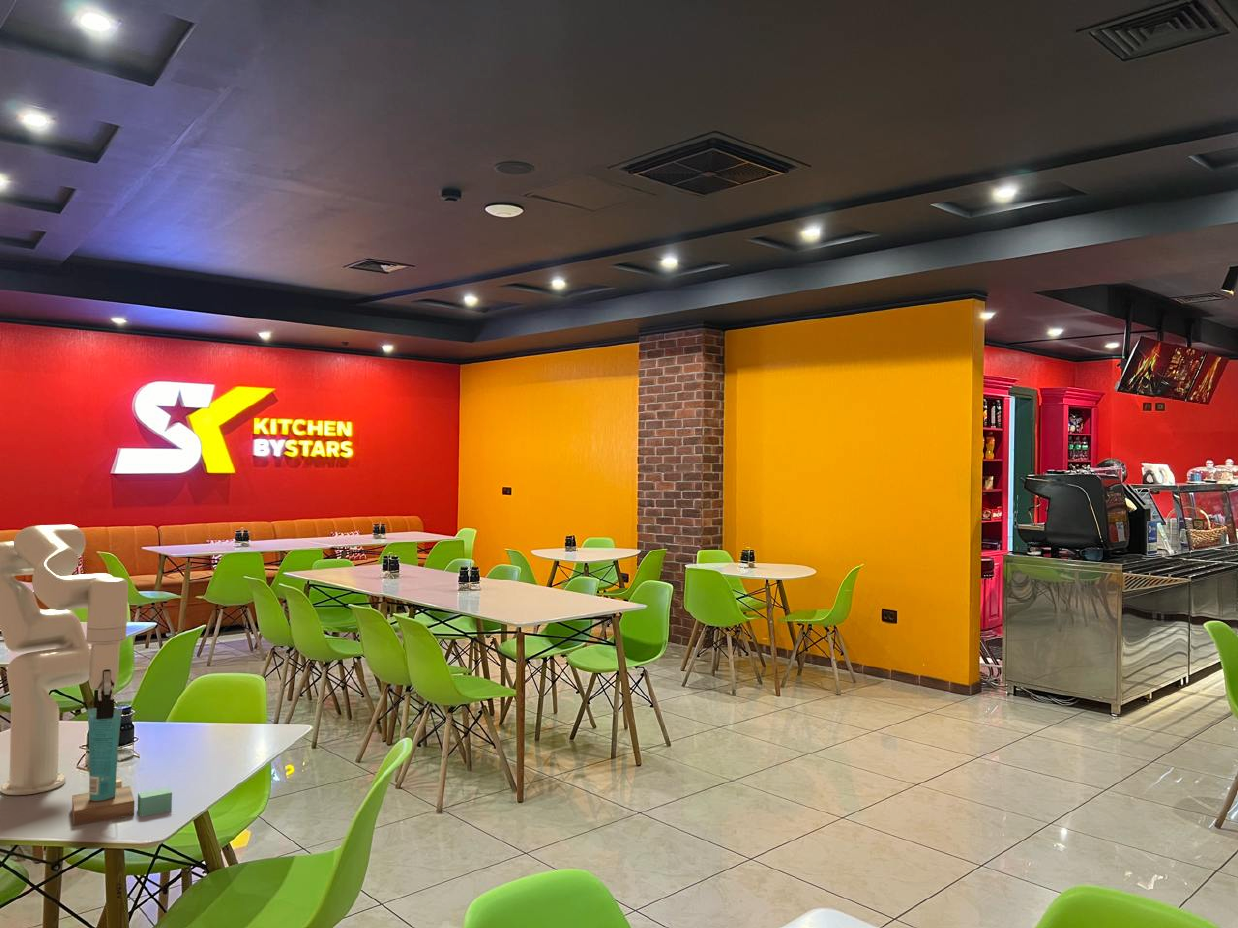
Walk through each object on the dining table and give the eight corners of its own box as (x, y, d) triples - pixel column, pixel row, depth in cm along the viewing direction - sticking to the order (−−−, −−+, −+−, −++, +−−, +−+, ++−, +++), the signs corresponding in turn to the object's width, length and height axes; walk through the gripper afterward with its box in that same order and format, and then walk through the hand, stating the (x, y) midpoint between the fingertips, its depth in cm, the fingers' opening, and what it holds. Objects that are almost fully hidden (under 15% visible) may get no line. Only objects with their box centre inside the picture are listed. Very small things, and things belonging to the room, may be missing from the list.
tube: (125, 793, 192) (127, 705, 192) (114, 801, 187) (117, 711, 187) (89, 794, 191) (92, 706, 191) (78, 802, 186) (81, 712, 186)
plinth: (72, 808, 190) (72, 795, 190) (129, 799, 196) (129, 785, 196) (74, 825, 181) (74, 810, 181) (134, 814, 187) (134, 800, 187)
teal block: (140, 816, 186) (141, 798, 186) (137, 811, 189) (138, 792, 190) (171, 810, 190) (172, 792, 190) (168, 805, 193) (168, 787, 193)
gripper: (84, 629, 195) (81, 705, 195) (88, 643, 180) (85, 725, 180) (122, 626, 199) (119, 701, 199) (129, 640, 185) (126, 720, 184)
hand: (103, 712), depth 189 cm, fingers open, 9 cm apart
